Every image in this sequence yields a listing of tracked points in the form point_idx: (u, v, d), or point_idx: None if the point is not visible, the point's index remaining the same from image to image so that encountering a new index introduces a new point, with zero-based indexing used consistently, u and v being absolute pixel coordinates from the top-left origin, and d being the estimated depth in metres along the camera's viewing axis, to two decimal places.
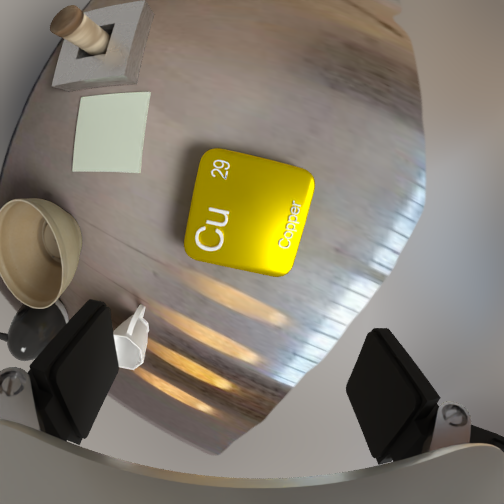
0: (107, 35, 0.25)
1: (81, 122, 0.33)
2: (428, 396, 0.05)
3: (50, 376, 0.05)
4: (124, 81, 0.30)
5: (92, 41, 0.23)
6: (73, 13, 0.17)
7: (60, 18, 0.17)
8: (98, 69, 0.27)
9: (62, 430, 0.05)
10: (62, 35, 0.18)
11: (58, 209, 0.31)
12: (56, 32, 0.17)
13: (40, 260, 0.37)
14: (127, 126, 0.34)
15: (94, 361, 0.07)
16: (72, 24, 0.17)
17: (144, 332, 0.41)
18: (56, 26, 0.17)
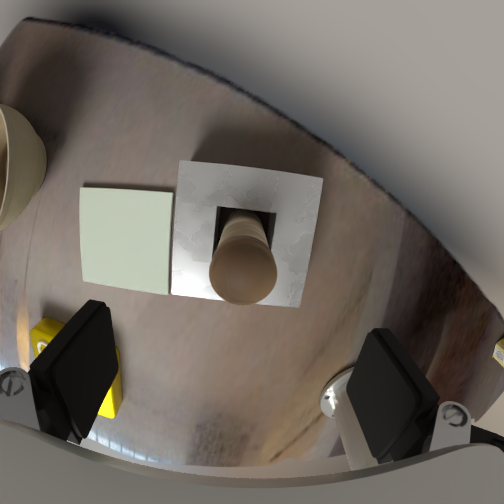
0: None
1: (135, 199, 0.29)
2: (428, 396, 0.05)
3: (50, 376, 0.05)
4: None
5: None
6: (247, 295, 0.18)
7: (248, 265, 0.17)
8: (186, 253, 0.26)
9: (62, 430, 0.05)
10: None
11: (23, 204, 0.23)
12: (212, 265, 0.17)
13: (1, 140, 0.23)
14: (127, 268, 0.31)
15: (94, 361, 0.07)
16: (222, 294, 0.18)
17: None
18: (229, 261, 0.17)
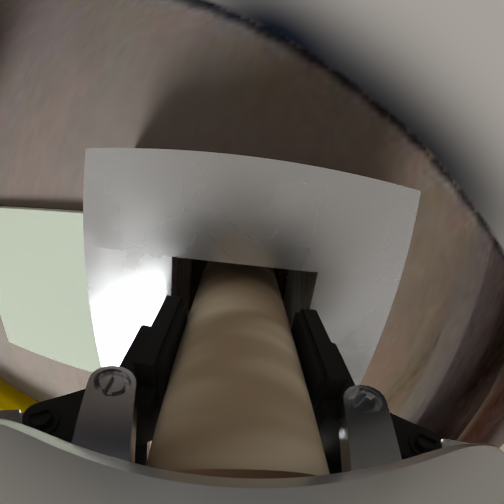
0: None
1: (47, 226, 0.14)
2: (333, 375, 0.06)
3: (155, 369, 0.06)
4: None
5: None
6: None
7: None
8: (122, 349, 0.11)
9: None
10: None
11: None
12: None
13: None
14: (54, 335, 0.16)
15: None
16: None
17: None
18: None
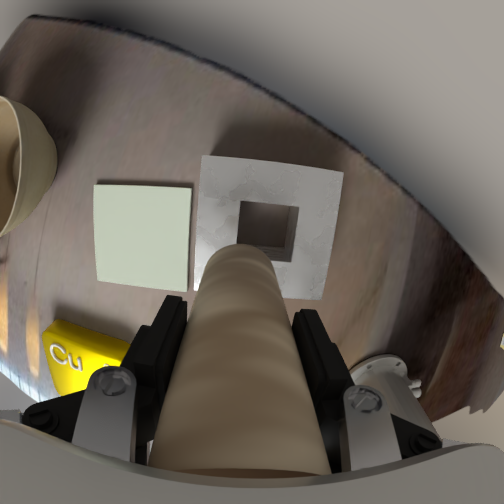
0: None
1: (153, 195, 0.29)
2: (333, 375, 0.06)
3: (155, 369, 0.06)
4: None
5: None
6: None
7: None
8: (209, 248, 0.26)
9: (157, 423, 0.06)
10: None
11: (35, 202, 0.23)
12: None
13: (8, 139, 0.23)
14: (144, 266, 0.31)
15: None
16: None
17: None
18: None
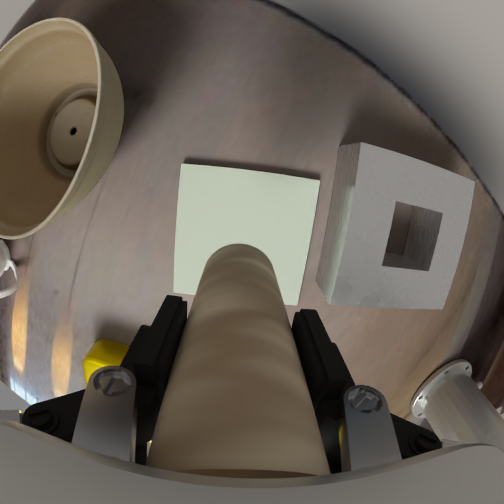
0: None
1: (270, 184, 0.23)
2: (333, 375, 0.06)
3: (155, 369, 0.06)
4: (323, 276, 0.24)
5: None
6: None
7: None
8: (357, 255, 0.21)
9: None
10: None
11: (98, 180, 0.17)
12: None
13: (46, 96, 0.18)
14: None
15: None
16: None
17: None
18: None
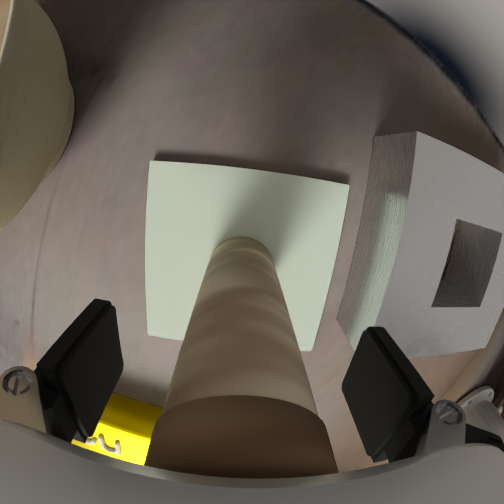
0: None
1: (279, 189, 0.16)
2: (422, 394, 0.05)
3: (57, 375, 0.05)
4: (349, 317, 0.17)
5: None
6: None
7: None
8: (404, 296, 0.13)
9: (68, 429, 0.05)
10: None
11: (25, 191, 0.10)
12: None
13: None
14: None
15: (100, 360, 0.07)
16: None
17: None
18: None
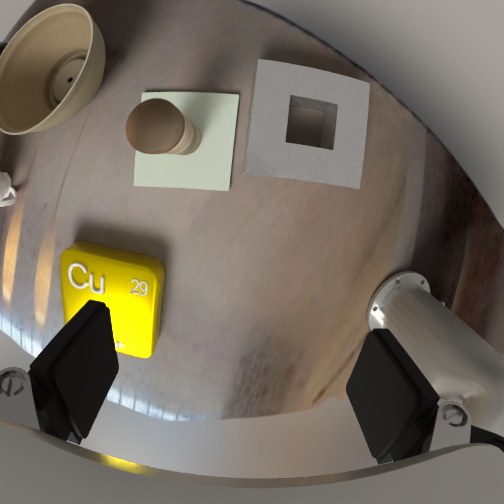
0: (182, 153, 0.27)
1: (202, 99, 0.29)
2: (428, 396, 0.05)
3: (50, 376, 0.05)
4: None
5: None
6: (156, 144, 0.18)
7: (157, 117, 0.17)
8: (262, 133, 0.27)
9: (62, 430, 0.05)
10: None
11: (86, 98, 0.23)
12: (128, 120, 0.17)
13: (51, 58, 0.23)
14: (187, 165, 0.32)
15: (94, 361, 0.07)
16: (137, 147, 0.18)
17: None
18: (142, 115, 0.17)
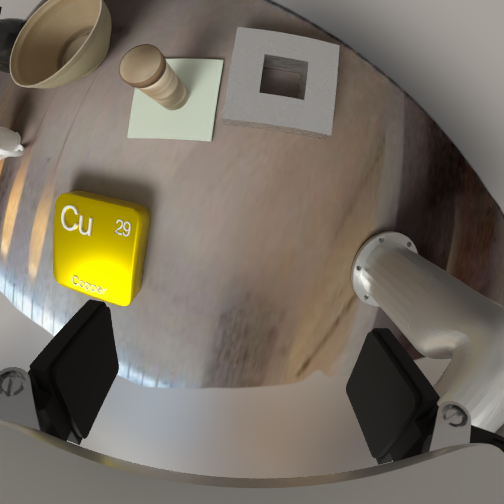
0: (169, 102, 0.28)
1: (191, 64, 0.31)
2: (428, 396, 0.05)
3: (50, 376, 0.05)
4: None
5: None
6: (141, 76, 0.19)
7: (143, 57, 0.19)
8: (239, 85, 0.28)
9: (62, 430, 0.05)
10: None
11: (92, 60, 0.25)
12: (122, 61, 0.19)
13: (66, 34, 0.25)
14: (175, 119, 0.33)
15: (94, 361, 0.07)
16: (126, 81, 0.20)
17: (4, 157, 0.30)
18: (132, 56, 0.19)
